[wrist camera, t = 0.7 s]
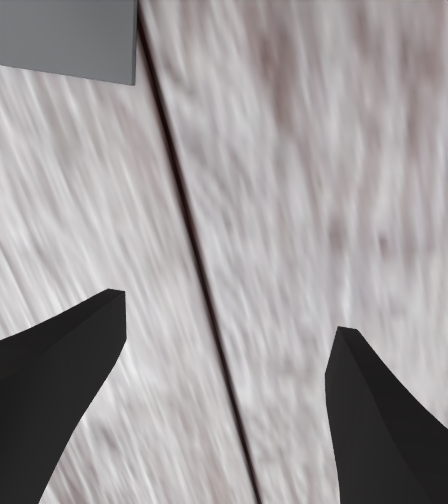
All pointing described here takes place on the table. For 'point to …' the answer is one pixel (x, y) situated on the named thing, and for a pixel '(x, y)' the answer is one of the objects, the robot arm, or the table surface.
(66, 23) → the mat
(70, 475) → the table surface
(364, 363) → the robot arm
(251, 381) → the table surface
